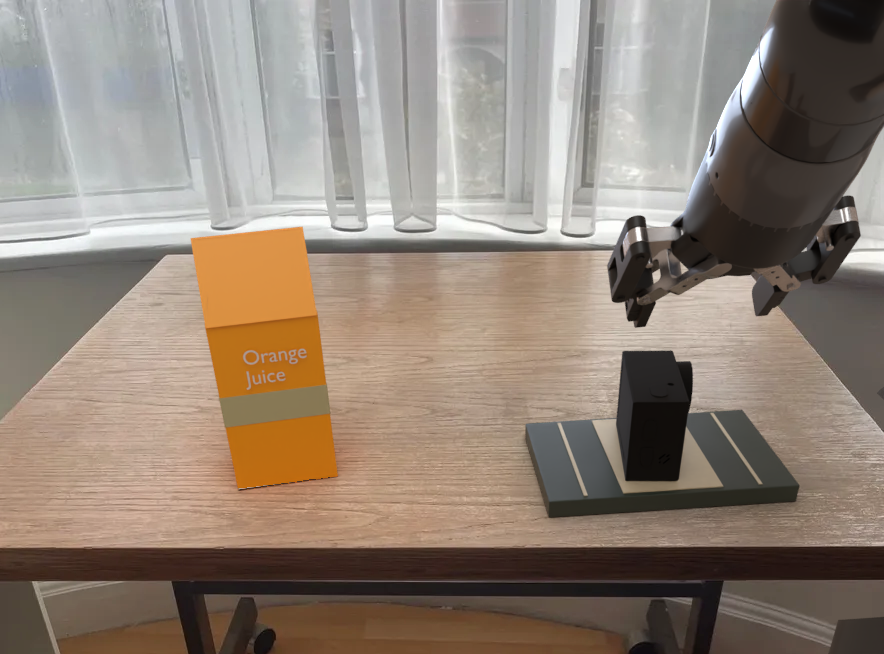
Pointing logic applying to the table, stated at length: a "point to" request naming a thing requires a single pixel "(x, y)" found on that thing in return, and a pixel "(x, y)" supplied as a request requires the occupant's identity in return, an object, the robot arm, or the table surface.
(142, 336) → the table surface
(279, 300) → the orange juice
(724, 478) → the board
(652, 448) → the digital camera
